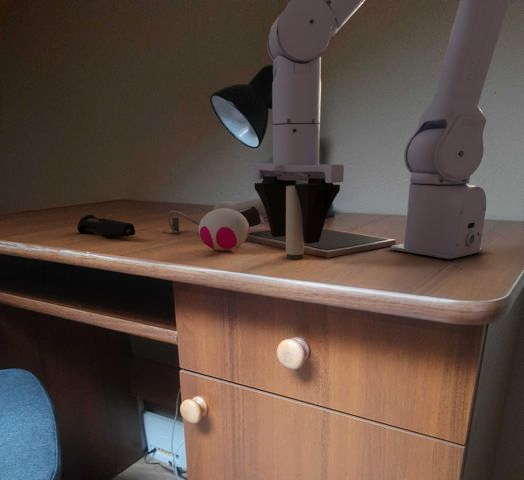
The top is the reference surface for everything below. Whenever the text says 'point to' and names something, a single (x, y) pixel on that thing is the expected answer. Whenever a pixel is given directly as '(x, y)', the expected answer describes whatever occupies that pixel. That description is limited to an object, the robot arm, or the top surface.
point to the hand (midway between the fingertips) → (295, 239)
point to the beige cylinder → (293, 225)
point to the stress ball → (223, 229)
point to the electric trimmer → (105, 227)
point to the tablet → (327, 242)
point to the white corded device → (248, 209)
